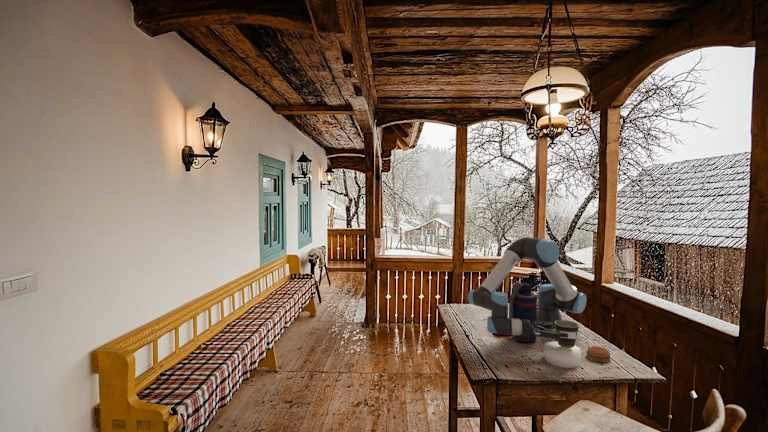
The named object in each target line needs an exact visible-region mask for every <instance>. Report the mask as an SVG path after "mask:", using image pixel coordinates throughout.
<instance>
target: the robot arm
mask: <svg viewBox="0 0 768 432" xmlns="http://www.w3.org/2000/svg"><path fill="white" fill-rule="evenodd" d="M560 254H561V253H560V248H559V246H558V244H557V242H556V241H555V240H553V239H548V238H540V237H539V238H538V237H537V238H536V237H528V236H527V237H521V238H518V239H517V240H515V241H513V242H512V243H510V245H509V246H508V247H506V249H505V251H504V252H503V256H502V257H501V259H500V260H499V261H498V262H497V264H496V265H495V266H494V267H493V268H492V270H491V271H490V273H489V274H488V275H487V277H486V278H485V279H484V280H483V282H482V283H481V284H480V285H479V287H478V288H477V289H471V290H470V291H469V292H468V294H467V301H468V303H469V304H471V305H473V306H476V307H480V308H483V309H486V310H488V311H491V313H490V314H491V316H487V321H486V323H487V324H486V326H487V327H486V328H487V329H486V330H487V332H488V333H491V334H499V335H501V334H502V335H512V336H513V335H514V336H515V335H521V334H522V336H530V333H535V336H536V337H542V338H549V339H553V340H557V341H558V340H560V338H570V339H577V336H576V332H565V331H560V332H557V331H556V329H555V327H553V328H552V329H551V330H550V328H551V326H555V321H558V320H563V319H562V315H561V312H560V310H562V311H567V312H571V313H575V314H581V313H582V312H583V311H584V310H585V308H586V306H587V295H586V294H585V293H583V292H579V291H578V289H577V287H576V286H574V285H573V284H572V283H571V282H570V280H569V278H568V277H567V275H566V274H565V272H564V270H563V268H562V266H561V265H560V263H559V261H558V260H559V258H560ZM523 260H529V261H530V260H531V261H533V262H534V264H535V265H536V266H537V267H539V268H540V269H542V270H543V272H544V273H545V275H546V277H547V279H548V280H549V282H550V283H544V284H540V285H539V286H538V290H537V294H538V295H537V322H535V321H532V324H530V320H526V319H522V320H520V319H514V318H509V298H508V296H509V295H508V294H507V293H506V292H503V291H497V290H498V288H499V287H500V286H501V285H502V283H503V282H504V280H505V279H506V278H507V277H508V275H509V274H510V273H511V271H512V270H513V269H514V267H515V266H516V265H517V264H520V263H521V261H523Z"/></svg>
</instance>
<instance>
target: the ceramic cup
mask: <svg viewBox="0 0 768 432" xmlns="http://www.w3.org/2000/svg"><path fill="white" fill-rule="evenodd" d="M553 327H555V329H554V330H555V331H557V332H560V331H565V332H576V337H577V335H578V333H579V328H580V325H579V323H577V322H574V321H571V320H565V319H562V320H558V321H555V326H551V328H550V329H549V330H553V329H552V328H553ZM576 339H577V338H576ZM576 339H570V338H560V340H558V339H557V342H558V345H560V346H561V347H566V348H573V347H574V345H575V346H576Z"/></svg>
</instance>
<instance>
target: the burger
mask: <svg viewBox="0 0 768 432" xmlns="http://www.w3.org/2000/svg"><path fill="white" fill-rule="evenodd" d="M586 356H587V359H590V360H591V361H595V362H600V363H609V362H611V353H610V351H609V350H608V349H606V348H604V347H602V346H601V347H600V346H594V345H593V346H591V347H587V351H586Z"/></svg>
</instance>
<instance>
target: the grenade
mask: <svg viewBox="0 0 768 432" xmlns="http://www.w3.org/2000/svg"><path fill="white" fill-rule="evenodd" d="M532 289H533V285H532V284H530V283H528V282H524V281H522V282H516V283H515V285H514V286H513V290H512V291H511V293H510V295H509V298H508V318H514V319H520V320H522V319H526V320H530V324H532V321H535V322H537V311H538V295H537V294H535V293H532ZM512 338H514V339H516V340H517V342H518V343H522V344H523V343H524V342H527V343H530V342H531V343H536V340H537V336H535V333H530V336H522V334H521V335H515V336H514V335H512Z"/></svg>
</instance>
